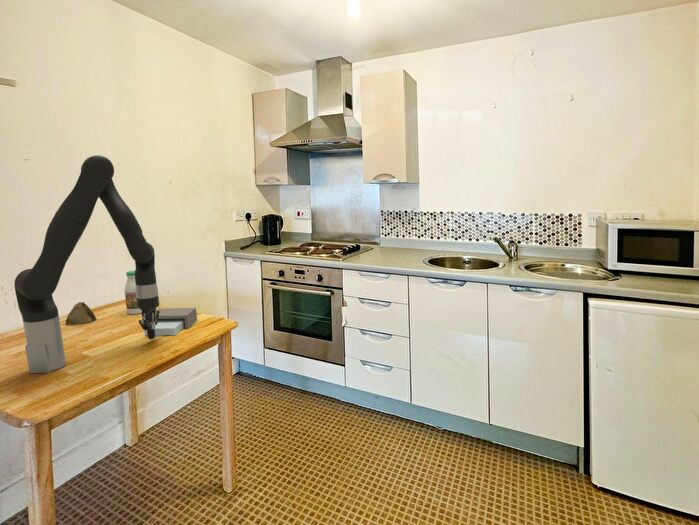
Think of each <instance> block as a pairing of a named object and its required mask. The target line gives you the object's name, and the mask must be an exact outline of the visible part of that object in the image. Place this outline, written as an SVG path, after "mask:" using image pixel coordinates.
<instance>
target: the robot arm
mask: <svg viewBox="0 0 699 525" xmlns="http://www.w3.org/2000/svg"><path fill="white" fill-rule="evenodd" d="M114 174H115V167H114V164H113V163H112V161H111V160H110V159H109V158H108V157H107V156H104V155H99V154H98V155H91V156H89V157H87V158H86V159H85V160H84V161H83V163H82V164H81V166H80V173H79V176H78V178H77V180H76V183H75V185H74V186H73V188H72V190H71V191H70V193H69V194H68V195H67V196H66V197H65V199H64V200H63V201H62V203H61V204H60V205H59V207H58V209H57V210H56V212H55V213H54V215H53V216H52V219H51V220H50V223H49V224H48V227H47V229H46V232H45V235H44V236H45V237H44V240H43V241H44V242H43V246H42V251H41V252H40V255H39V256H38V258H37V261H36V262H35V264H34V265H33V266H32V268H26V269H24V270H22V271H20V272H19V273H18V274H17V276H16V277H15V278H14V290H15V291H14V292H15V296H16V301H17V307H18V310H19V313H20V315H21V318H22V325H23V327H24V328H23V329H24V335H25V339H26V340H25V341H26V344H25V346H24V348H25V354H26V359H27V364H28V365H27V366H28V371H29V374H49V373H52V372H54V371H56V370H58V369H61V368H63V367H65V366H66V364H67V360H66V352H65V347H64V341H63V335H62V328H61V322H60V316H59V309H58V306H57V304H56V303H55V301H54V298H53V294H54V292H55V291H56V289H57V287H58V285H59V282H60V280H61V277H62V275H63V271H64V269H65V266H66V264H67V262H68V260H69V258H70V257H71V255H72V254H73V252H74V250H75V248H76V247H77V244H78V242H79V241H80V239H81V237H82V235H83V234H84V232H85V230H86V228H87V226H88V223H89V222H90V219H91V217H92V215H93V212H94V209H95V206H96V204H97V202H98V199H100V201H101V202H102V204H103V205H104V207H105V208H106V210H107V212H108V214H109V216H110V218H111V220H112V221H113V224H114V226H115V227H116V228H117V230H118V232H119V234H120V236H121V237H122V239H123V240H124V244H125V246H126V248H127V251H128V253H129V255H130V257H131V258H132V260H134V263H135V268H134V269H135V270H134V271H135V283H136V300H137V308H138V309H141V310H142V313H141V319H138V323H139V325H140V327H141V328H142V329H143V331H145V330H147V334H148V336H147V339H148V340H154V339H155V338H156V336H155V329H154V328H155V327H156V326H155V325H157V323H158V318H159V313H160V311H157V308H159V306H160V298H159V288H158V284H157V275H156V269H155V267H156V266H155V264H156V263H155V262H156V261H155V249H154V246H153V245H152V244H151V243H149V242H148V241H147V239H146V238H145V236H144V234H143V229H142V226H141V225H140V222H138V219H137V218H136V215H134V213H133V210H132V209H130V207H129V205H128V204H127V203H126V202H125V200H124V199H123V198H122V197H121V195H120V193H119V192H118V189H117V187H116V185H115V182H114V179H113V177H114Z"/></svg>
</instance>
